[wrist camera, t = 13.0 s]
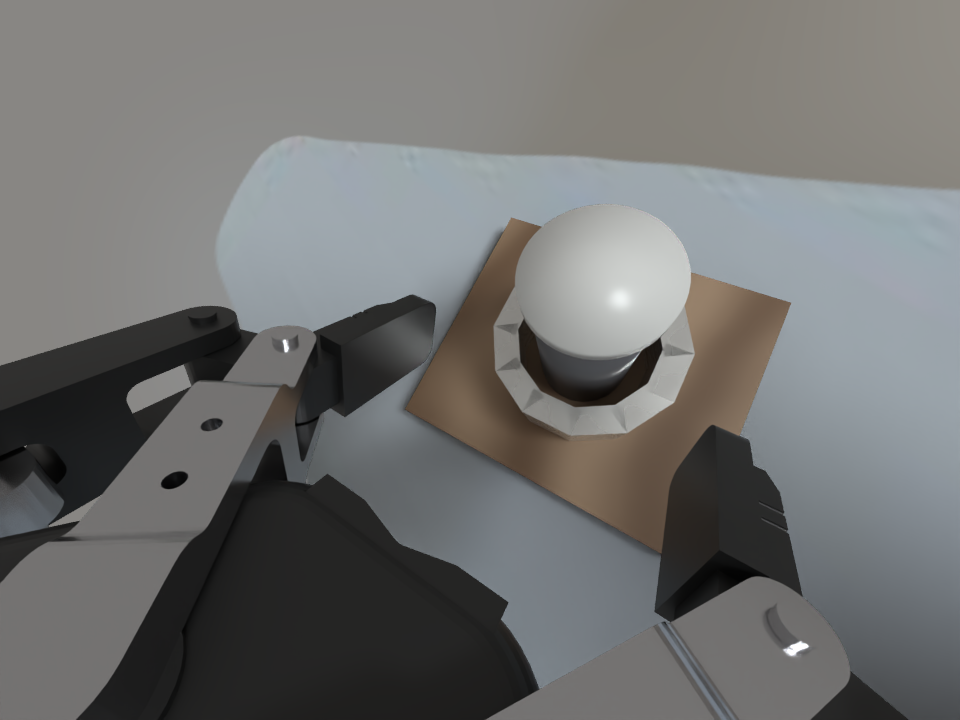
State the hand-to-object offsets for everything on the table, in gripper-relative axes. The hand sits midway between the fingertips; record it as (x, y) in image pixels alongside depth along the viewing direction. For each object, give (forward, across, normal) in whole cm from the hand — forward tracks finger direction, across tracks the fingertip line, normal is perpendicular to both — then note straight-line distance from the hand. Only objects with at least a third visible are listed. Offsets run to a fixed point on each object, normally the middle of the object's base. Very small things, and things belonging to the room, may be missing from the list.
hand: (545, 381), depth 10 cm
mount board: (+10, 0, +5) cm, 12 cm away
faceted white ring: (+9, 0, +4) cm, 10 cm away
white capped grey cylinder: (+9, 0, +4) cm, 10 cm away
